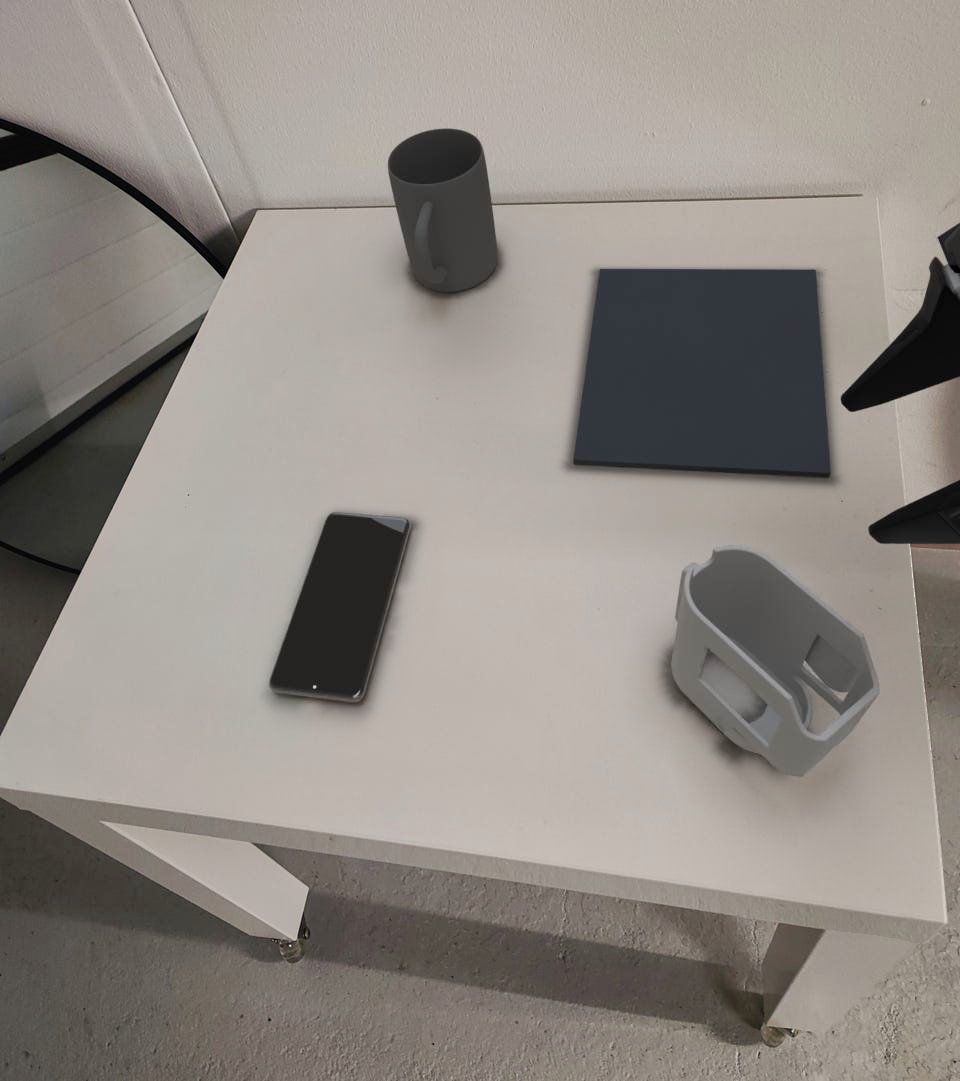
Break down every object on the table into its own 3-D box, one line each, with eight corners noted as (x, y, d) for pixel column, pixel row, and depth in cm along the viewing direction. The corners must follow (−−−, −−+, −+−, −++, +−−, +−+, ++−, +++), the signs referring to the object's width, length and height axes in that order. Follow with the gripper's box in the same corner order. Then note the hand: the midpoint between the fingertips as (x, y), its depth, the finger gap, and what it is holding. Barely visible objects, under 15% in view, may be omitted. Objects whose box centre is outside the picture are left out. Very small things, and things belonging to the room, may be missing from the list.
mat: (814, 274, 76) (815, 269, 75) (829, 477, 63) (830, 472, 63) (599, 273, 80) (599, 268, 79) (573, 464, 67) (573, 459, 67)
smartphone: (411, 516, 65) (360, 700, 56) (414, 524, 66) (364, 706, 57) (326, 510, 67) (264, 688, 58) (330, 517, 68) (269, 694, 59)
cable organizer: (781, 801, 50) (825, 735, 41) (643, 662, 57) (651, 575, 47) (854, 735, 52) (913, 656, 42) (712, 607, 58) (734, 512, 48)
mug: (422, 236, 87) (398, 128, 77) (505, 236, 85) (492, 125, 75) (392, 324, 80) (361, 218, 70) (482, 326, 78) (464, 217, 68)
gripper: (1077, 16, 33) (747, 260, 43) (1310, 272, 21) (779, 525, 31) (1180, 202, 38) (862, 382, 48) (1415, 494, 26) (927, 651, 36)
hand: (857, 466), depth 40 cm, fingers open, 9 cm apart
